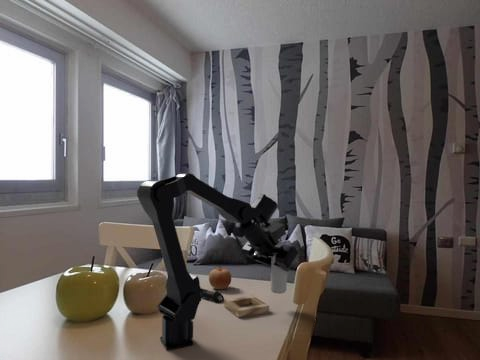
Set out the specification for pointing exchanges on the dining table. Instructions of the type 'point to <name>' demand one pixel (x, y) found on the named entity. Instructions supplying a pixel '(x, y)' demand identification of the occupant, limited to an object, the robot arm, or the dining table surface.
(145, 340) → the dining table surface
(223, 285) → the apple
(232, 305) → the socket block
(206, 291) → the electric trimmer
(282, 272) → the beverage can
